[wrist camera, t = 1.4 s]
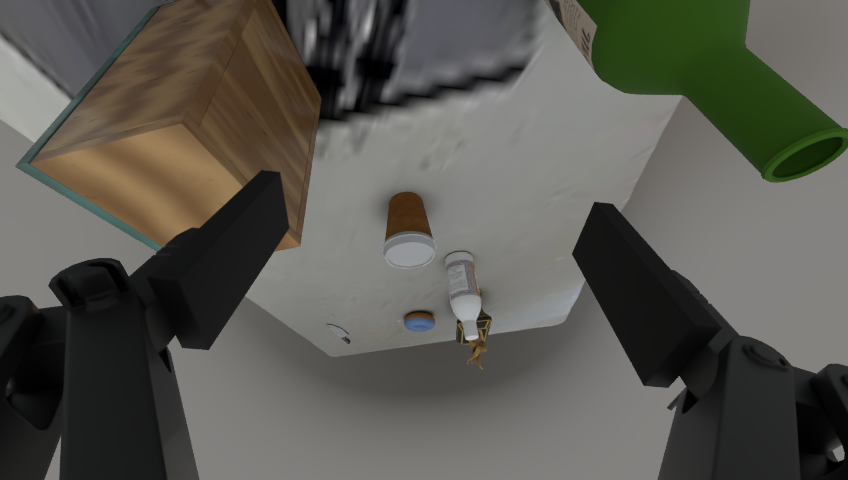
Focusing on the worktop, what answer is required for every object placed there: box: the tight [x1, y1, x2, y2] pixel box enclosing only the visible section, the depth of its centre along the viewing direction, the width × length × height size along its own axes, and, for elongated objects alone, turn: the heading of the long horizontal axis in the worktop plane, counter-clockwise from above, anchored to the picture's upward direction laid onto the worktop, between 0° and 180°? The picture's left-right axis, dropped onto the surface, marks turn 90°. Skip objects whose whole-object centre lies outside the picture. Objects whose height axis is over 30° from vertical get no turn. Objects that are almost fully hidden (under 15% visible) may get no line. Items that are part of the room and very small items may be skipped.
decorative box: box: [456, 290, 492, 370], centre depth 99 cm, size 20×10×20 cm, turn 4°
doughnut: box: [404, 313, 435, 331], centre depth 109 cm, size 10×10×5 cm
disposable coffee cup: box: [382, 192, 437, 269], centre depth 61 cm, size 10×10×12 cm
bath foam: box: [445, 252, 481, 340], centre depth 77 cm, size 7×7×20 cm
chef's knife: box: [328, 325, 350, 344], centre depth 116 cm, size 19×1×3 cm
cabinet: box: [30, 0, 322, 252], centre depth 33 cm, size 11×14×24 cm
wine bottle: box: [545, 0, 848, 182], centre depth 24 cm, size 9×9×32 cm
